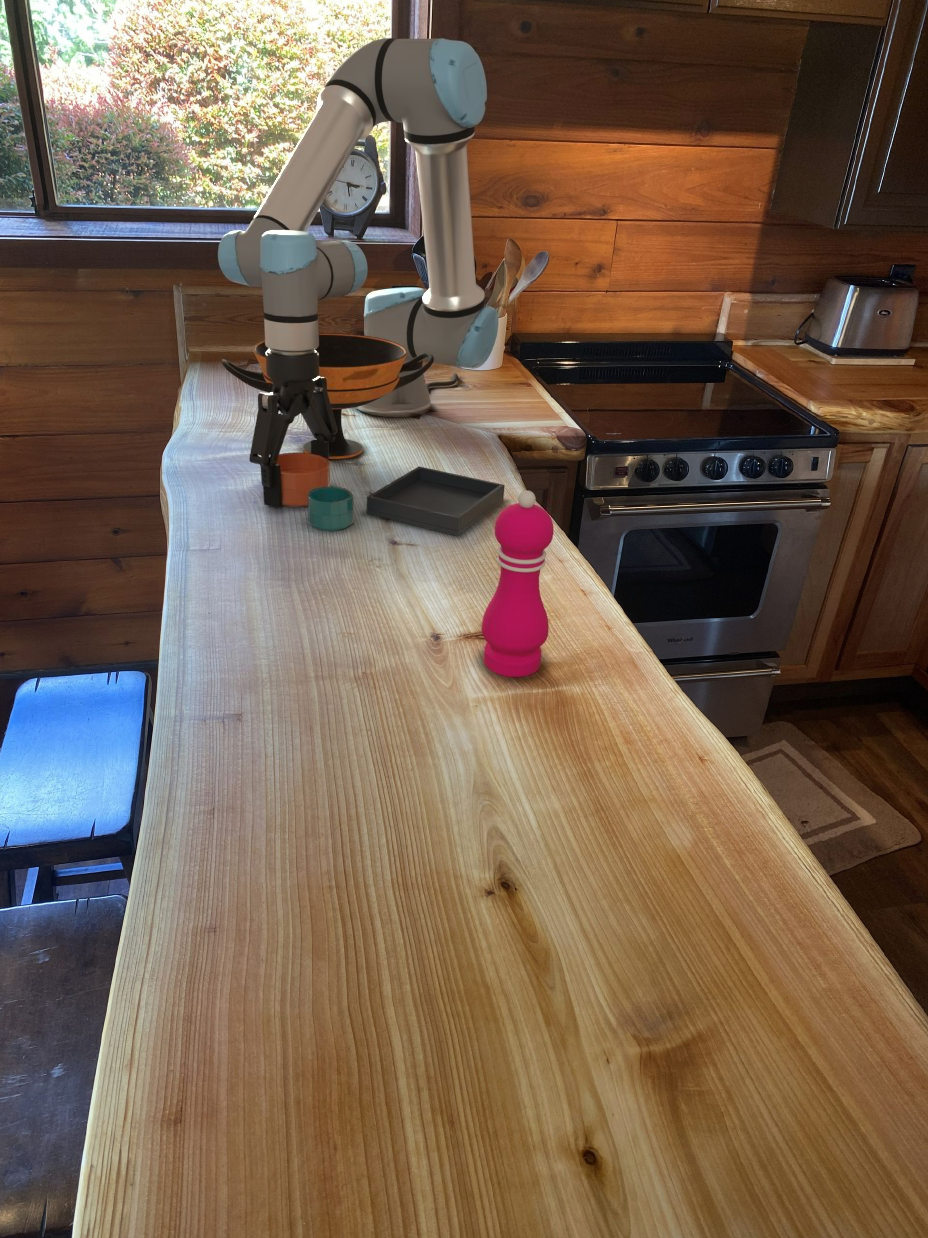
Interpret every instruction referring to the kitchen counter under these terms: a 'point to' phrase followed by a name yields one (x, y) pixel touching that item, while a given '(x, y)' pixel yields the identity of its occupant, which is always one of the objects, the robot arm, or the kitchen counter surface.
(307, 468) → the bowl large
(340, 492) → the bowl small
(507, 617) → the pepper mill
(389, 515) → the tray
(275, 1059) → the kitchen counter surface
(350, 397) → the cup
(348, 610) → the kitchen counter surface
